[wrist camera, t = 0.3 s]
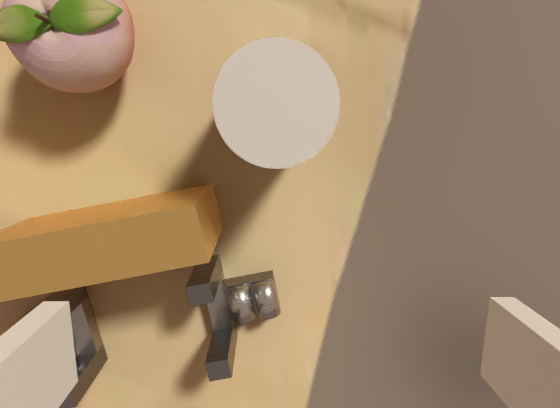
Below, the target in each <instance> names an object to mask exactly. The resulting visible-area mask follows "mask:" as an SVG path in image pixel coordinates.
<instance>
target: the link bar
mask: <svg viewBox="0 0 560 408" xmlns="http://www.w3.org/2000/svg"><path fill="white" fill-rule="evenodd" d="M222 228H223V225H222V221H221V216H220V212H219V207H218V203H217V199H216V194H215V190H214V185H213V183H212V184H207V185H202V186H197V187H191V188H186V189H181V190H175V191H170V192H165V193H160V194H154V195H149V196H144V197H138V198H133V199H128V200H123V201H117V202H112V203H107V204H101V205H96V206H91V207H86V208H80V209H75V210H70V211H64V212H59V213H54V214H49V215H43V216H38V217H33V218H29V219H27V220H25V221H22V222H20V223H17V224H15V225H13V226H10V227H8V228H5V229H3V230H0V302H4V301H9V300H15V299H20V298H25V297H31V296H36V295H41V294H46V293H52V292H57V291H62V290H68V289H73V288H78V287H83V286H89V285H94V284H99V283H105V282H110V281H115V280H120V279H126V278H131V277H136V276H142V275H147V274H152V273H157V272H163V271H168V270H173V269H179V268H184V267H189V266H194V265H200V264H205V263H209V262H210V259H211V256H212V254H213V251H214V249H215V246H216V244H217V241H218V239H219V236H220V233H221V231H222Z"/></svg>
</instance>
